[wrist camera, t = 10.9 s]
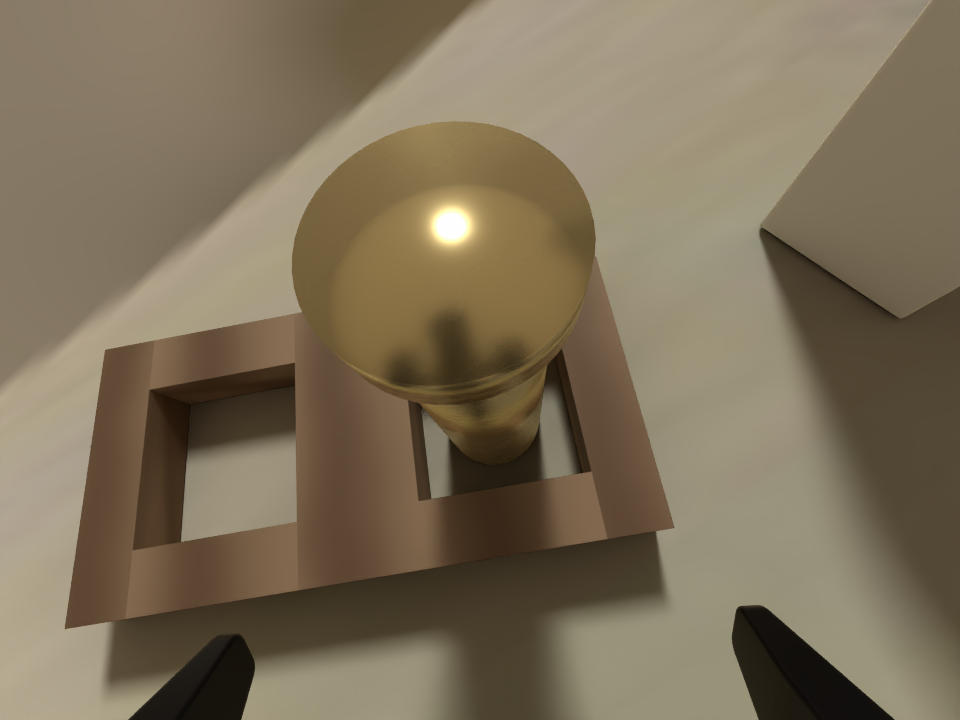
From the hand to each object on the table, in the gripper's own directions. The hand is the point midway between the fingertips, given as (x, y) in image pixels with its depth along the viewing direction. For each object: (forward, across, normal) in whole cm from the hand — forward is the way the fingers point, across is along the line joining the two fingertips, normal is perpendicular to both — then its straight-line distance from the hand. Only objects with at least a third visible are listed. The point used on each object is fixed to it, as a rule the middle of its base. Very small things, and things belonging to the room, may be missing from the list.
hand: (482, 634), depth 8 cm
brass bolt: (+12, 0, +3) cm, 12 cm away
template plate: (+12, +6, +3) cm, 13 cm away
